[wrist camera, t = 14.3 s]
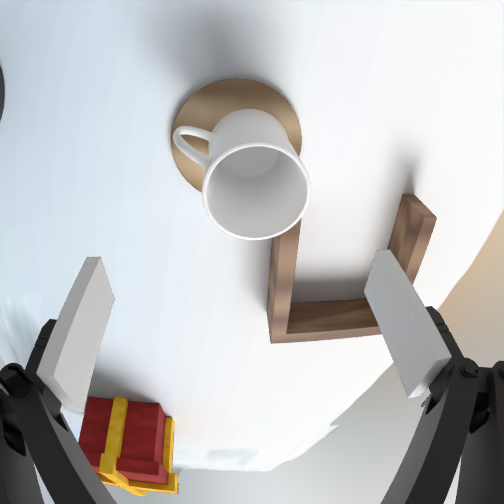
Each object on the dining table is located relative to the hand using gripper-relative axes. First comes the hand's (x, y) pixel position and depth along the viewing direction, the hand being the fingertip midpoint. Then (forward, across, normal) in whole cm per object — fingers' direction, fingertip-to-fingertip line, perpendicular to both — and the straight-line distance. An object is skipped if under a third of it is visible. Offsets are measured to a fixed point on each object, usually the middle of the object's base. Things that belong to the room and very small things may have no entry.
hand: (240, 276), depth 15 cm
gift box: (+23, -28, -67) cm, 76 cm away
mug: (+22, 0, 0) cm, 22 cm away
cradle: (+22, +14, -17) cm, 31 cm away
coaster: (+23, 0, 0) cm, 23 cm away
